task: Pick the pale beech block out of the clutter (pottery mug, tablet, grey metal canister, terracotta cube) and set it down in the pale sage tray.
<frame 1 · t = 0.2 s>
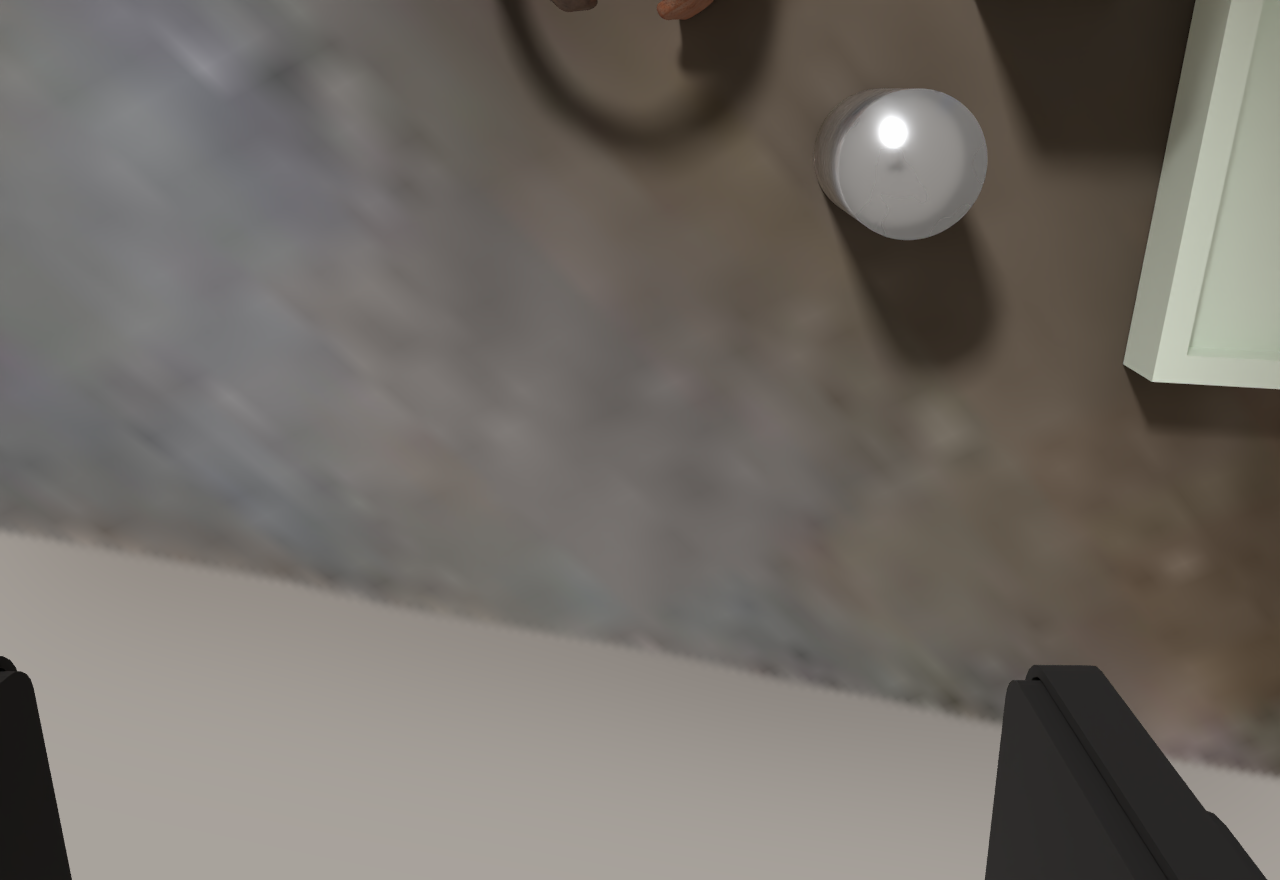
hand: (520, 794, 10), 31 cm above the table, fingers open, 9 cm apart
grey canister: (876, 154, 38), on the table
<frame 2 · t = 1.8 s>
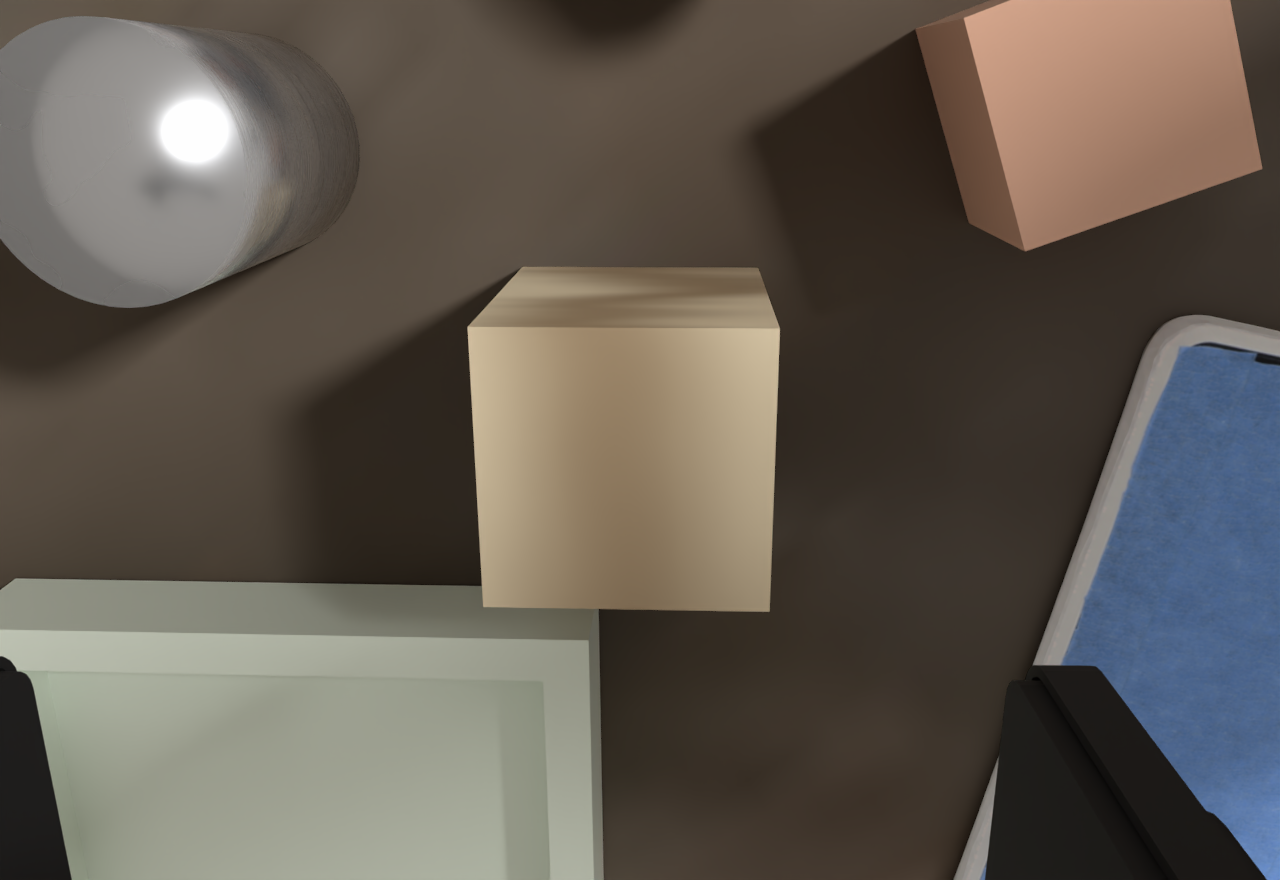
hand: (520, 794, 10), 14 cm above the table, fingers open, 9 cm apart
grey canister: (254, 146, 22), on the table
tray: (331, 830, 28), on the table
terracotta cube: (1040, 92, 22), on the table
tablet computer: (1255, 732, 27), on the table
beech block: (640, 380, 24), on the table
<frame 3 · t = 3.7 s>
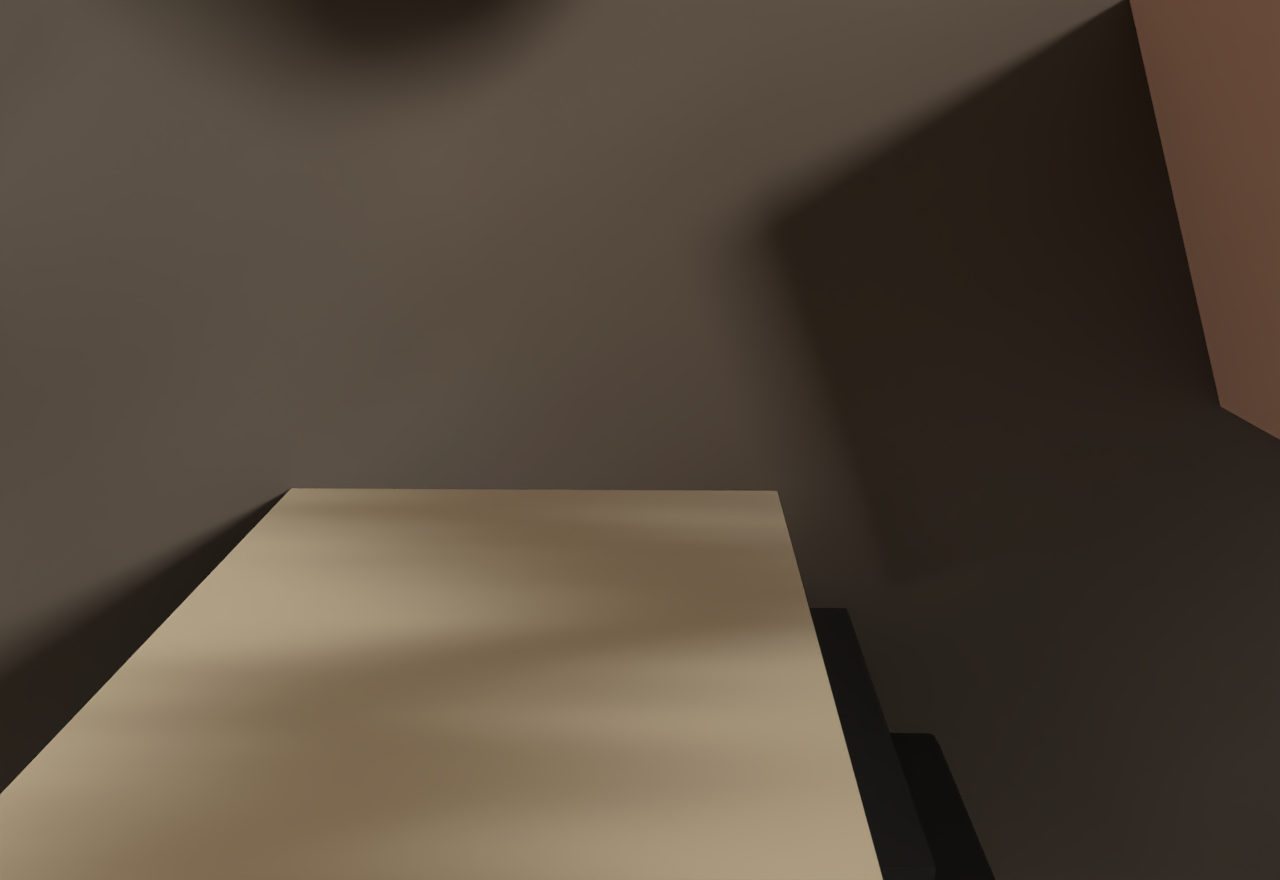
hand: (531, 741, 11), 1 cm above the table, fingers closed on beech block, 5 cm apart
beech block: (540, 703, 12), on the table, touching gripper
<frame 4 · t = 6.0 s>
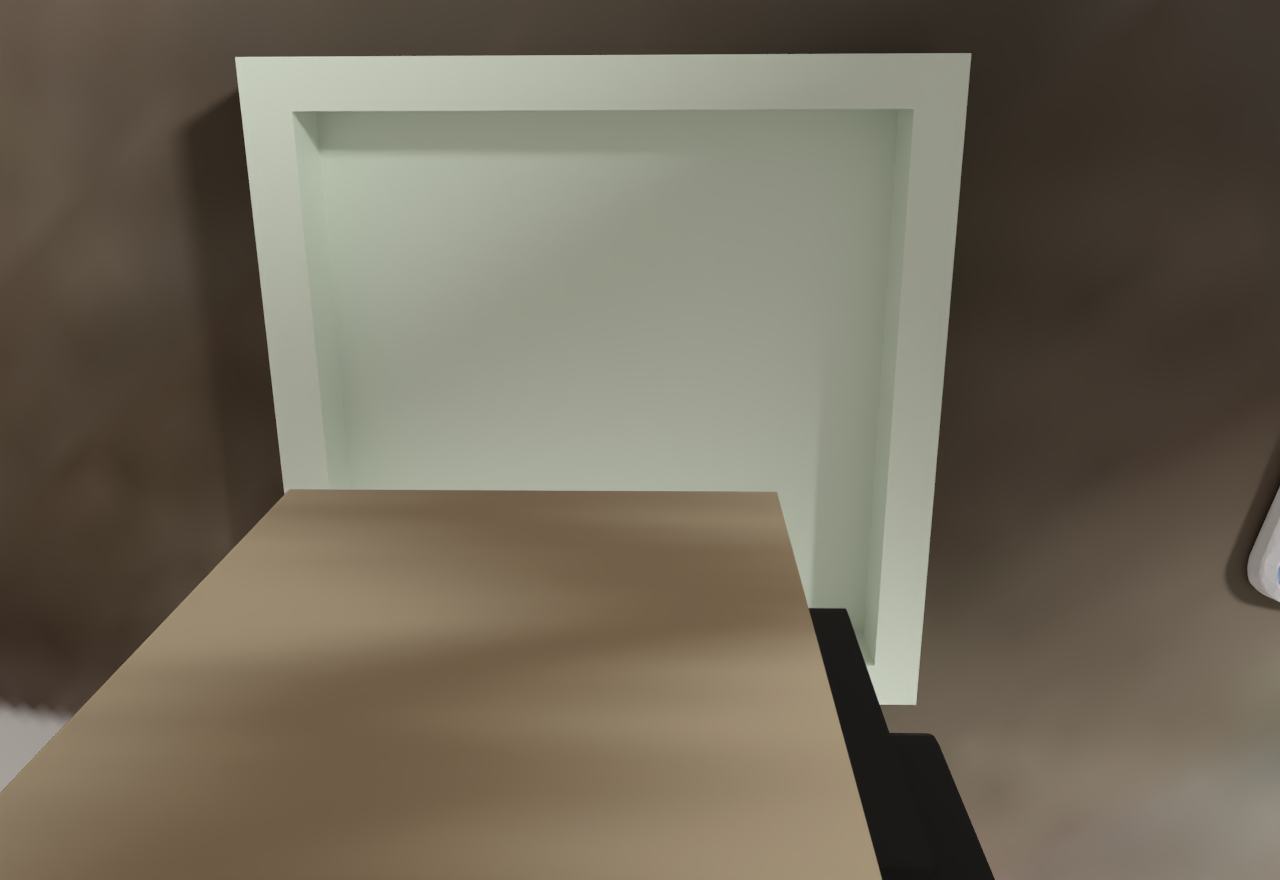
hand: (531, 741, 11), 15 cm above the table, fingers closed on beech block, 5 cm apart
tray: (611, 378, 25), on the table
beech block: (539, 704, 12), point 14 cm above the table, touching gripper
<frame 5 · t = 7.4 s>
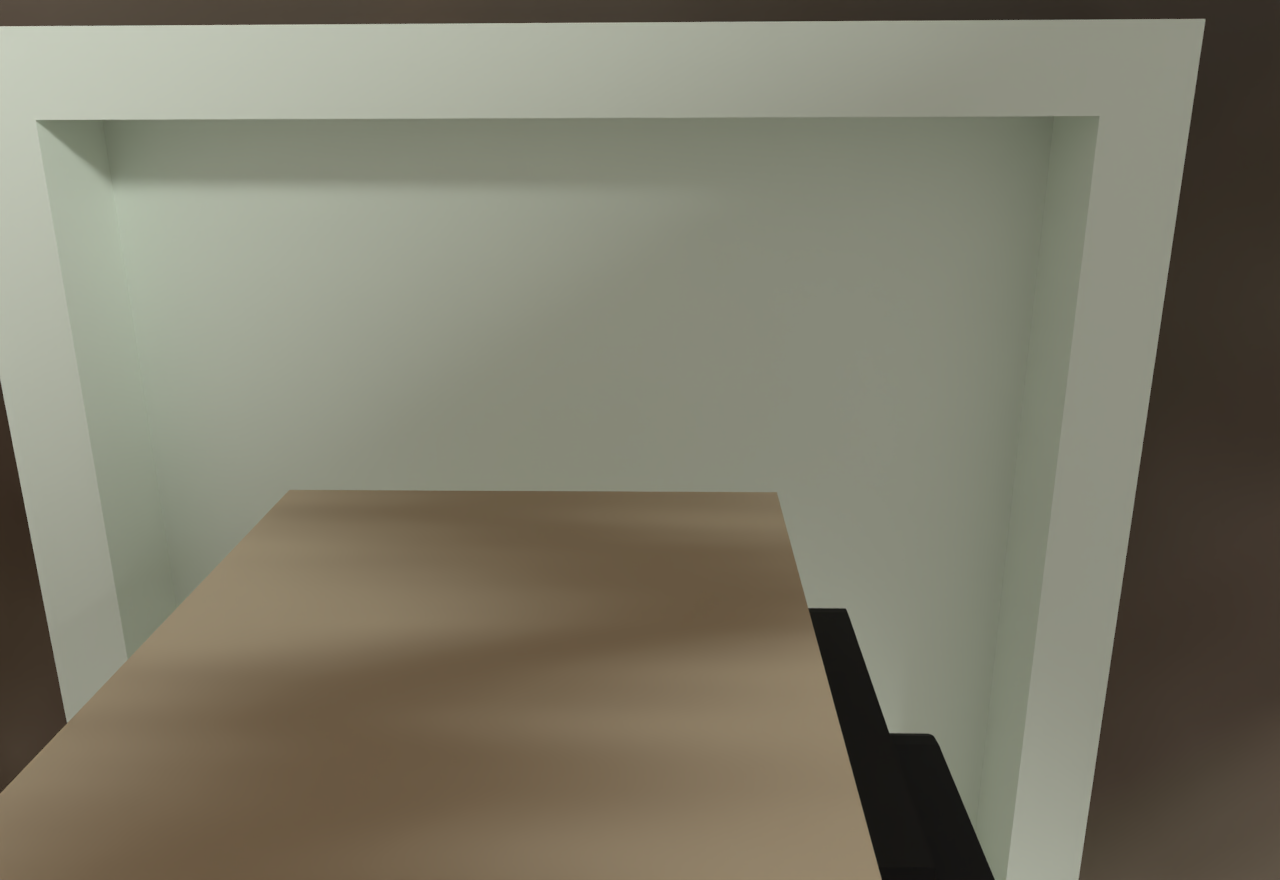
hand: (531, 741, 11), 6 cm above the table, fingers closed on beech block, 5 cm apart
tray: (587, 526, 16), on the table
beech block: (539, 705, 12), point 5 cm above the table, touching gripper
when the fingers open (3 cm above the table, at t = 8.4 s): beech block drops 1 cm, resting on tray.
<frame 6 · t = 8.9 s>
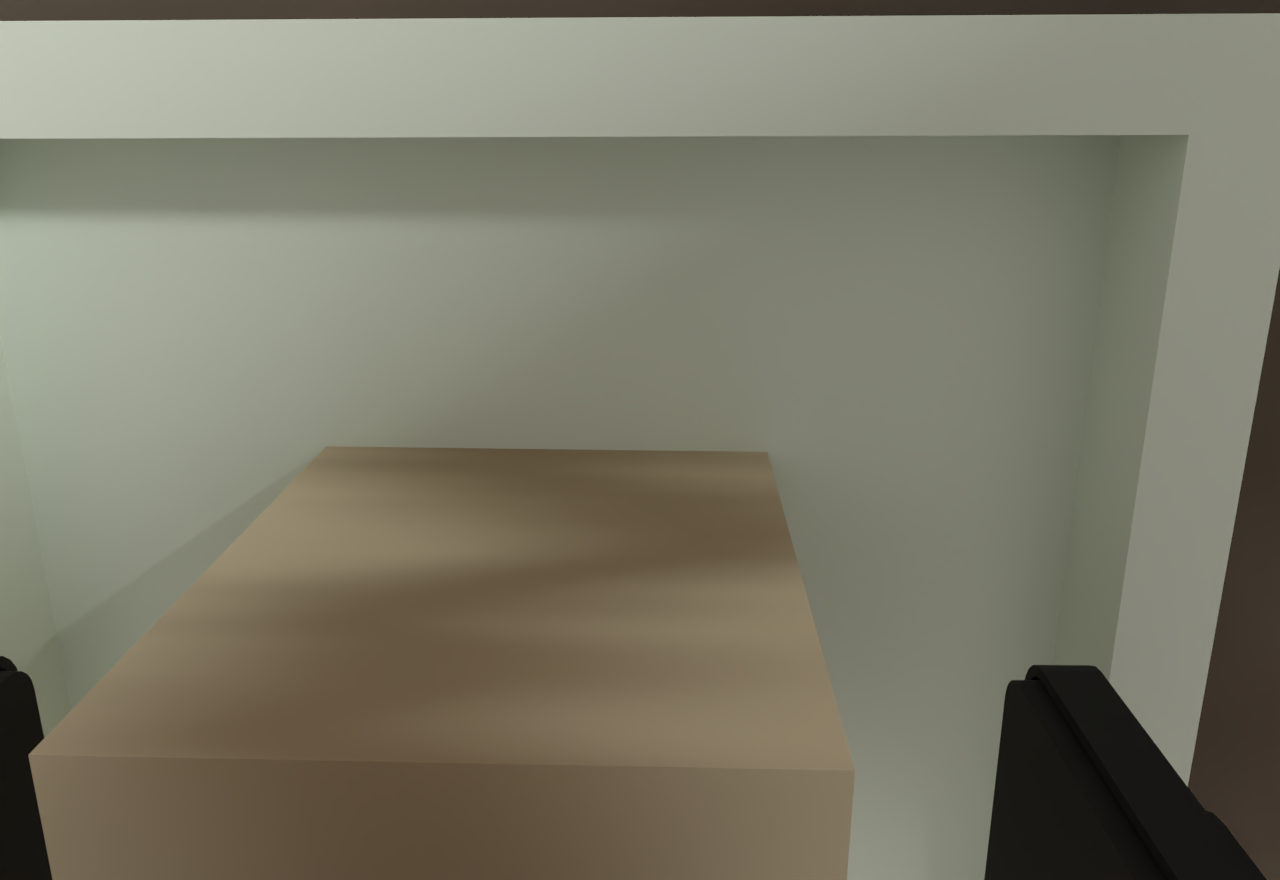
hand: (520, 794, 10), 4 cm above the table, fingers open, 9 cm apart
tray: (559, 611, 14), on the table
beech block: (550, 646, 13), point 1 cm above the table, touching tray
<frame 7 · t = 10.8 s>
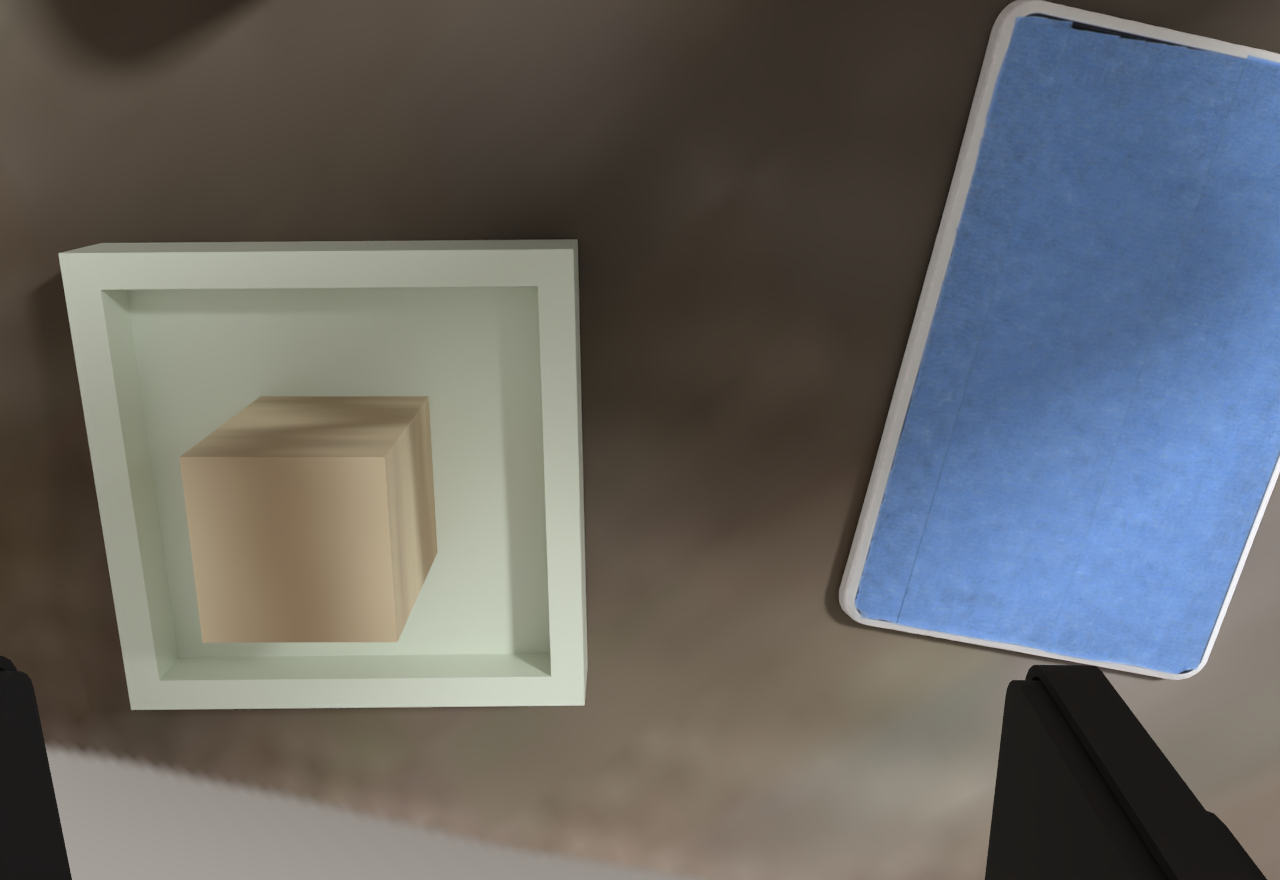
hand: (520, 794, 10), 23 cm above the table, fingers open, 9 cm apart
tray: (359, 467, 34), on the table
tablet computer: (1096, 362, 34), on the table
beech block: (350, 476, 33), point 1 cm above the table, touching tray
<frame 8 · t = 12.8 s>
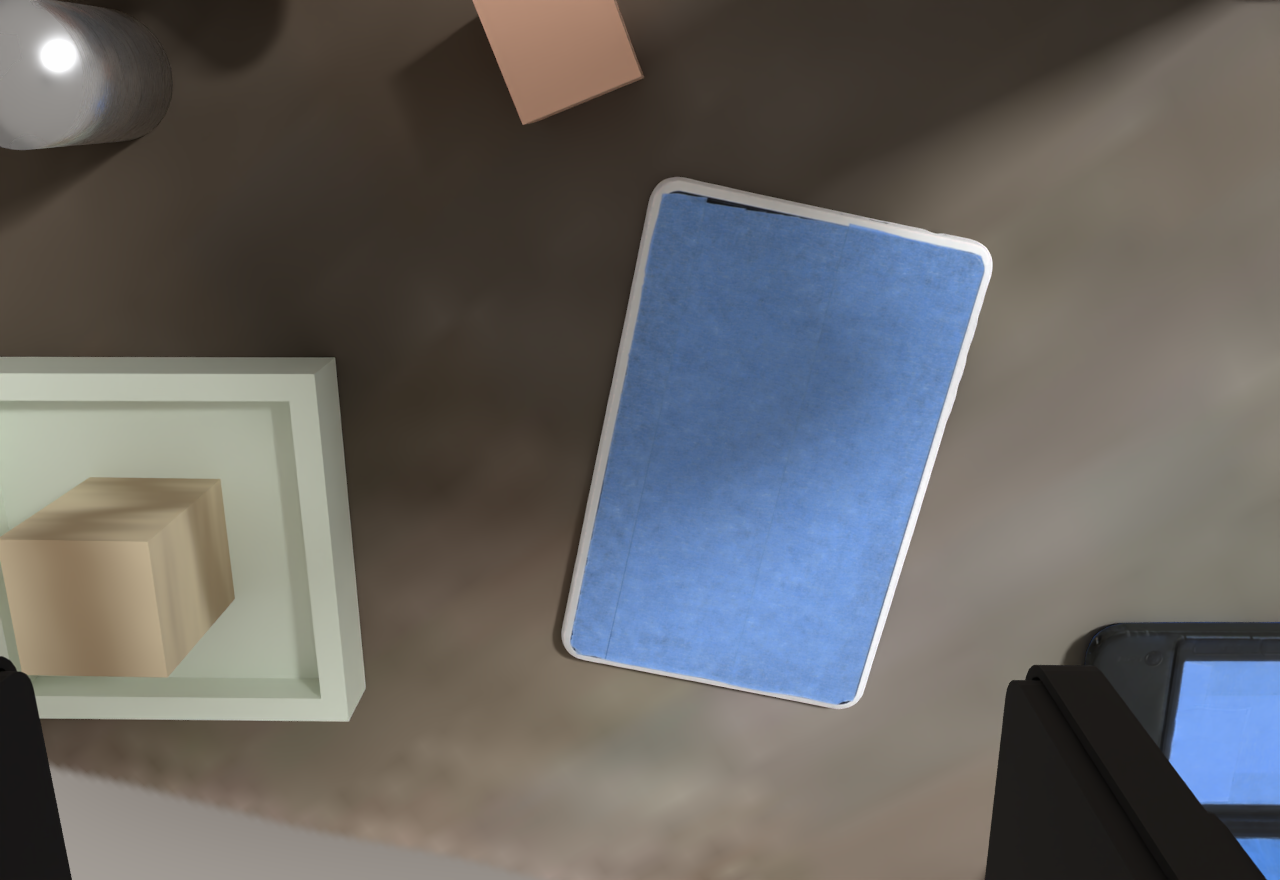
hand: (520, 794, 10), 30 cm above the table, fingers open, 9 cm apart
grey canister: (109, 75, 37), on the table
handheld game console: (1252, 757, 45), on the table
tray: (175, 530, 43), on the table
terracotta cube: (568, 42, 37), on the table
tablet computer: (762, 454, 42), on the table
beech block: (163, 538, 42), point 1 cm above the table, touching tray
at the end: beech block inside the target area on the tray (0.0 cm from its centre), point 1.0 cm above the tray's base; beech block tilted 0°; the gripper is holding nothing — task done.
